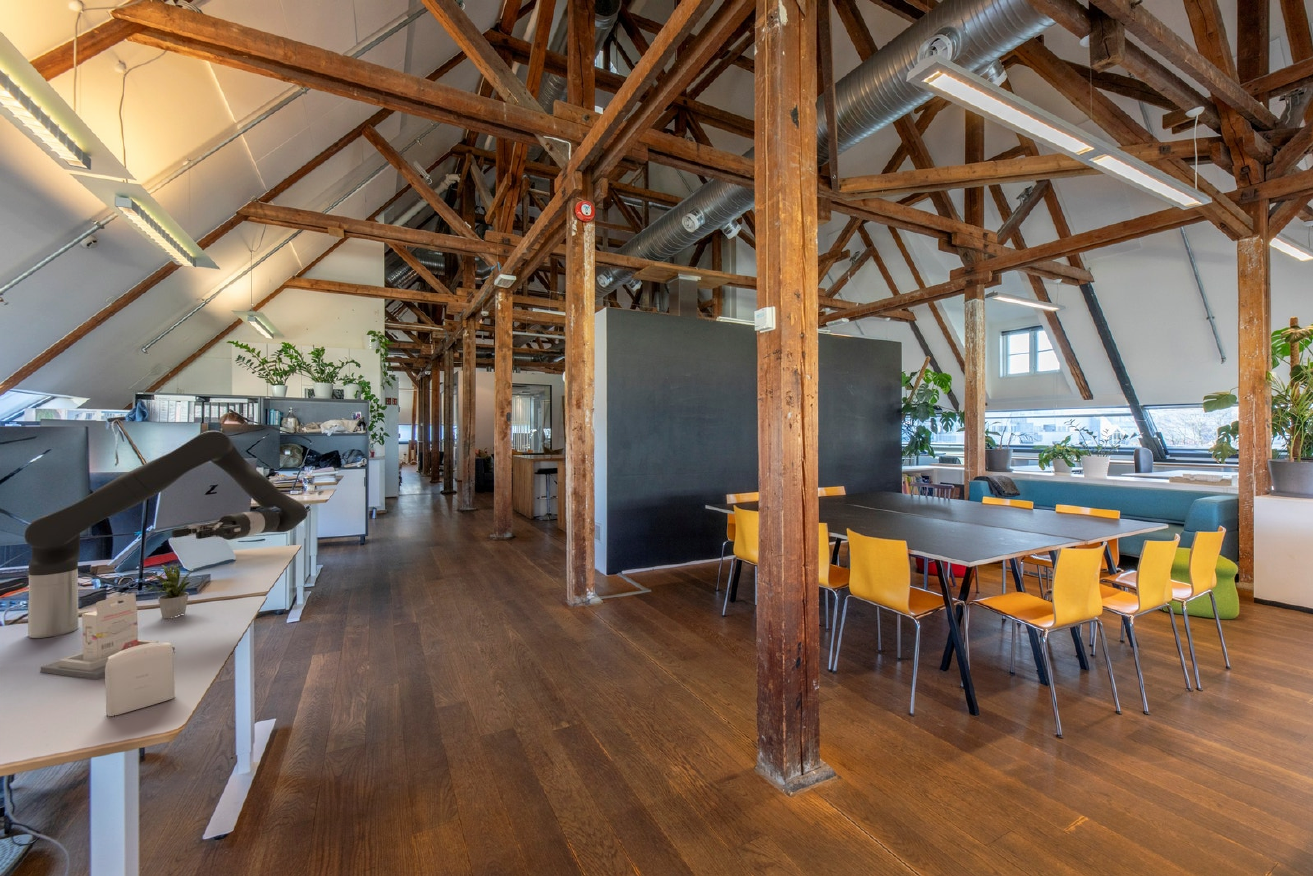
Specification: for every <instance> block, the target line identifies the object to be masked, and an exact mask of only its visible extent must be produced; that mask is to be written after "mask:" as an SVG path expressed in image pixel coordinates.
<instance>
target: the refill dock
mask: <svg viewBox="0 0 1313 876" xmlns="http://www.w3.org/2000/svg"><path fill="white" fill-rule="evenodd" d="M150 643H159V641H157V640H148V639H141V638H140V639H139V638H138V646H139V645H143V644H150ZM171 647H172V649H173V651H174V650H175V651H176V648H175V646H171ZM107 661H108V657H106V658H103V659H100V660H97V661H94V662H88V661H83V652H79V653H77V654H74V655H73V654H72V655H71V656H67V657H64V658H61V659H58V661H54V662H52V663H49V664H45V665H42V666H40V673H47V674H52V673H55V674H54V675H60V674H61V676H69V677H74V678H75V677H76V678H83V679H90V680H91V679H92V680H100V679H103V678H105V667H106V663H107Z"/></svg>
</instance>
